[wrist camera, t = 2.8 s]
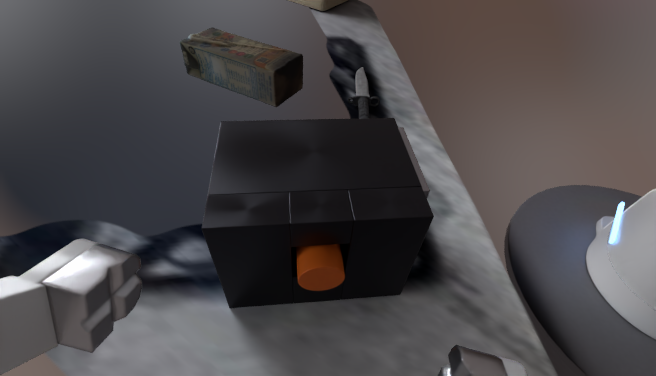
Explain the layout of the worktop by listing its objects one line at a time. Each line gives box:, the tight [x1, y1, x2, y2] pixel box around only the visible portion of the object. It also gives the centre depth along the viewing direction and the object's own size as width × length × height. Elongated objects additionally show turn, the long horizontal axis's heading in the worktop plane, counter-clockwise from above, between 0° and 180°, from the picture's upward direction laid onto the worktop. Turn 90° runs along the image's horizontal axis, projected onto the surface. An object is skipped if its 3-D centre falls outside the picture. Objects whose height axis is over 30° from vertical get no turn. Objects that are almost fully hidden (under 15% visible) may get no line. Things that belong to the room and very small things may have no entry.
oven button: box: [296, 244, 345, 291], centre depth 27 cm, size 4×3×4 cm
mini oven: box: [202, 118, 434, 308], centre depth 32 cm, size 17×12×12 cm
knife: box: [348, 67, 380, 119], centre depth 56 cm, size 19×2×5 cm
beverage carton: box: [180, 28, 303, 107], centre depth 56 cm, size 8×19×7 cm, turn 61°
